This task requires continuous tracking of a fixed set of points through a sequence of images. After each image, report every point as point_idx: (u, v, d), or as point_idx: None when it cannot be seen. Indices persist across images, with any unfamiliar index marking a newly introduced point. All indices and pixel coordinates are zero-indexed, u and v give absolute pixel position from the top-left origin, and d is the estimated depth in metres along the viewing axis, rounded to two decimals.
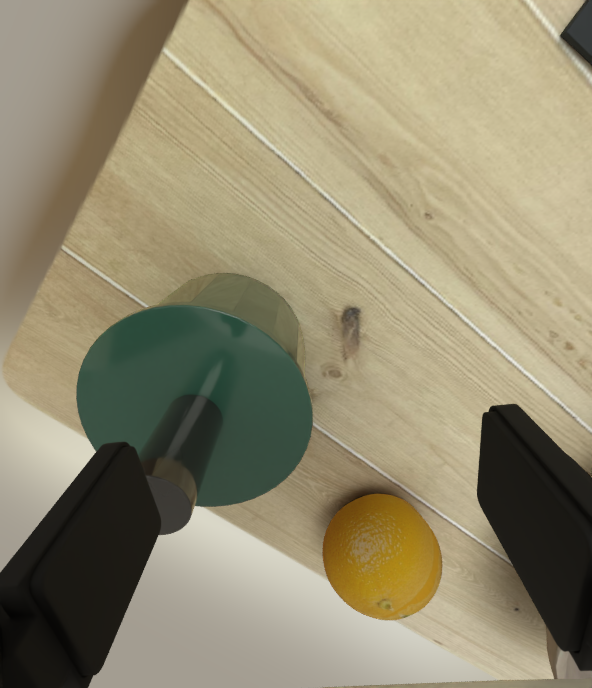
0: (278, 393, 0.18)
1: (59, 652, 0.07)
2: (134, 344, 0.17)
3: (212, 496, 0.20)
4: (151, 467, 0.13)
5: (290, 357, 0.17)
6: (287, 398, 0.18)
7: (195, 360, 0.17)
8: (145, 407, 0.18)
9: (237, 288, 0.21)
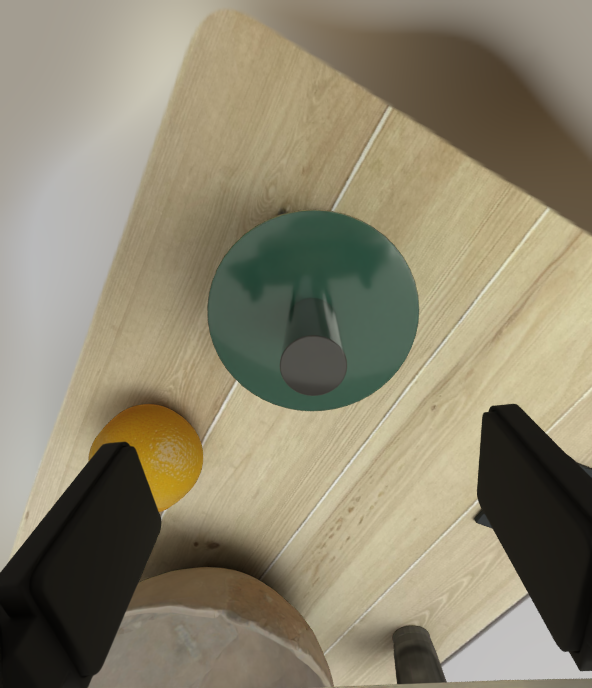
0: (348, 383, 0.22)
1: (59, 653, 0.07)
2: (380, 268, 0.19)
3: (226, 342, 0.21)
4: None
5: (380, 387, 0.22)
6: (344, 390, 0.22)
7: (370, 319, 0.20)
8: (316, 278, 0.19)
9: None
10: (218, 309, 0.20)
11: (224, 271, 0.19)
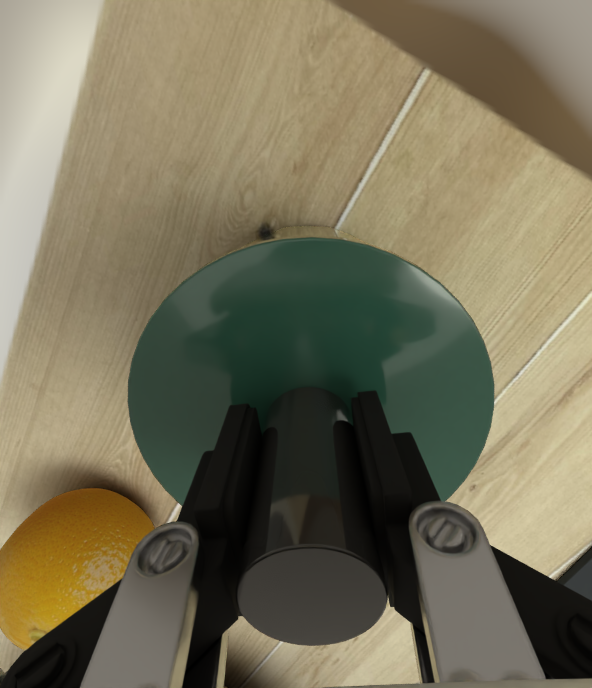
0: None
1: (237, 574, 0.08)
2: (431, 338, 0.11)
3: (164, 455, 0.12)
4: (383, 571, 0.07)
5: None
6: None
7: (409, 420, 0.12)
8: (315, 355, 0.11)
9: None
10: (147, 405, 0.12)
11: (152, 342, 0.11)
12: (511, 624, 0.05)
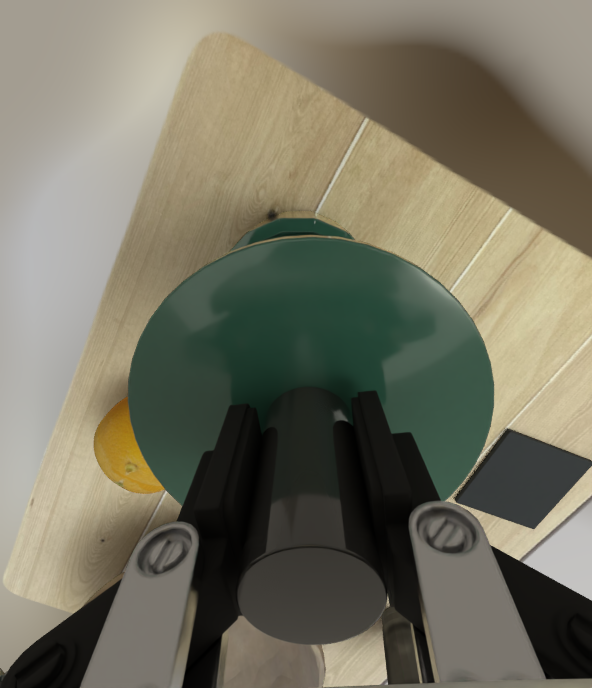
0: None
1: (237, 574, 0.08)
2: (431, 338, 0.11)
3: (164, 454, 0.12)
4: None
5: None
6: None
7: (409, 420, 0.12)
8: (315, 355, 0.11)
9: None
10: (146, 404, 0.12)
11: (152, 343, 0.11)
12: (511, 624, 0.05)
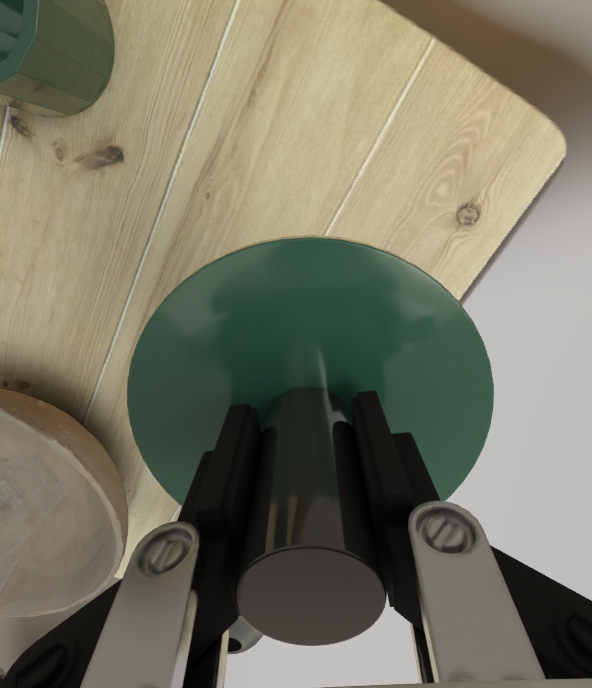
0: None
1: None
2: (431, 339, 0.11)
3: (163, 455, 0.12)
4: (382, 571, 0.07)
5: None
6: None
7: (408, 420, 0.12)
8: (315, 355, 0.11)
9: (89, 19, 0.24)
10: (146, 405, 0.12)
11: (151, 343, 0.11)
12: (511, 624, 0.05)
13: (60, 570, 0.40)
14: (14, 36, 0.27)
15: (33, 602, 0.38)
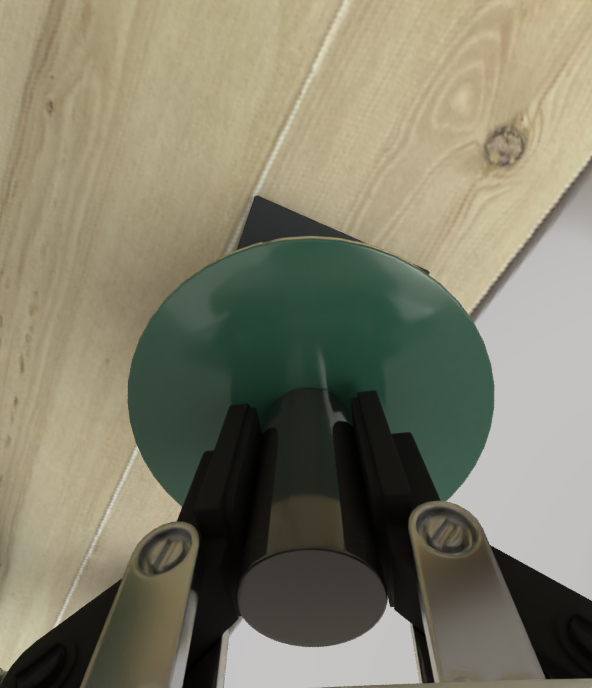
0: None
1: (237, 574, 0.08)
2: (431, 339, 0.11)
3: (164, 455, 0.12)
4: (383, 572, 0.07)
5: None
6: None
7: (409, 421, 0.12)
8: (315, 356, 0.11)
9: None
10: (146, 405, 0.12)
11: (152, 344, 0.11)
12: (511, 624, 0.05)
13: None
14: None
15: None
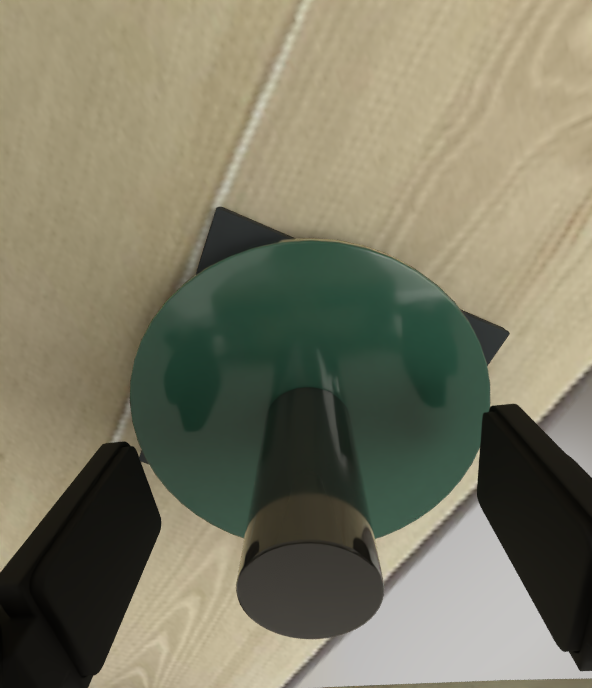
0: None
1: (59, 652, 0.07)
2: (428, 340, 0.11)
3: (165, 454, 0.13)
4: (379, 566, 0.07)
5: (418, 517, 0.14)
6: None
7: (406, 420, 0.12)
8: (314, 356, 0.11)
9: None
10: (148, 404, 0.12)
11: (154, 344, 0.11)
12: None
13: None
14: None
15: None
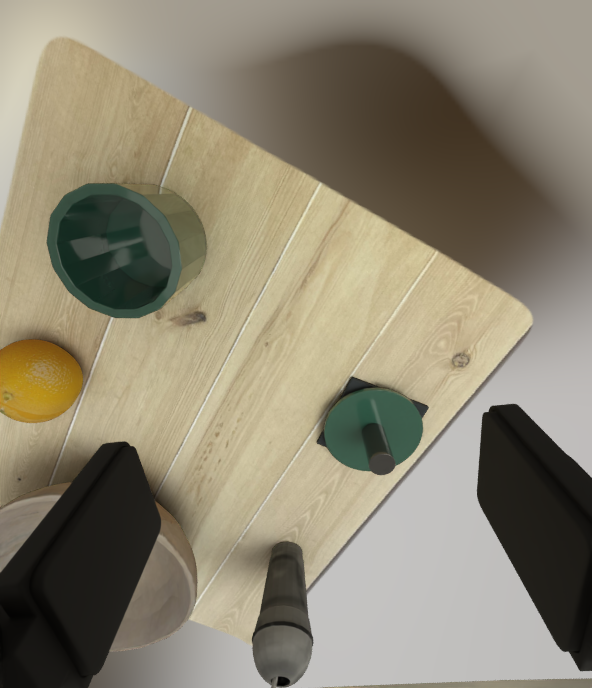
0: None
1: (59, 652, 0.07)
2: (405, 411, 0.43)
3: (331, 441, 0.44)
4: None
5: (404, 460, 0.45)
6: None
7: (400, 431, 0.44)
8: (376, 415, 0.43)
9: (197, 252, 0.34)
10: (330, 427, 0.44)
11: (335, 412, 0.43)
12: None
13: (136, 614, 0.50)
14: (135, 245, 0.37)
15: (117, 640, 0.49)
